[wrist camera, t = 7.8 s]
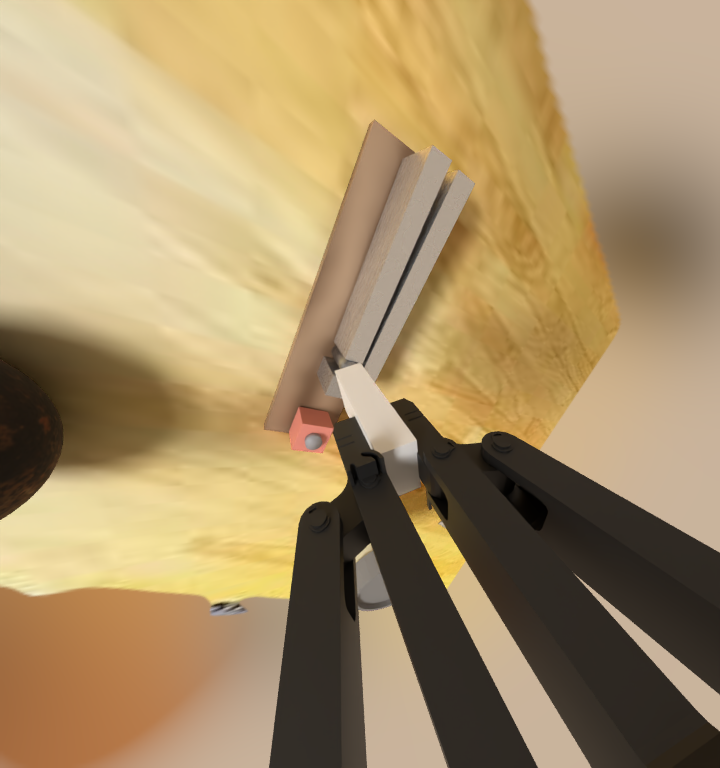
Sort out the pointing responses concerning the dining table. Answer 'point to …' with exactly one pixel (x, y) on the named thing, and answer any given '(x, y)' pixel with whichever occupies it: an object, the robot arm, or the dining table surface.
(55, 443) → the dark brown vase
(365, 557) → the reusable coffee cup
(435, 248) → the grey long bar
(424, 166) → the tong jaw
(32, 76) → the dining table surface
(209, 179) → the dining table surface
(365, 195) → the board
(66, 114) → the dining table surface
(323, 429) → the tab
